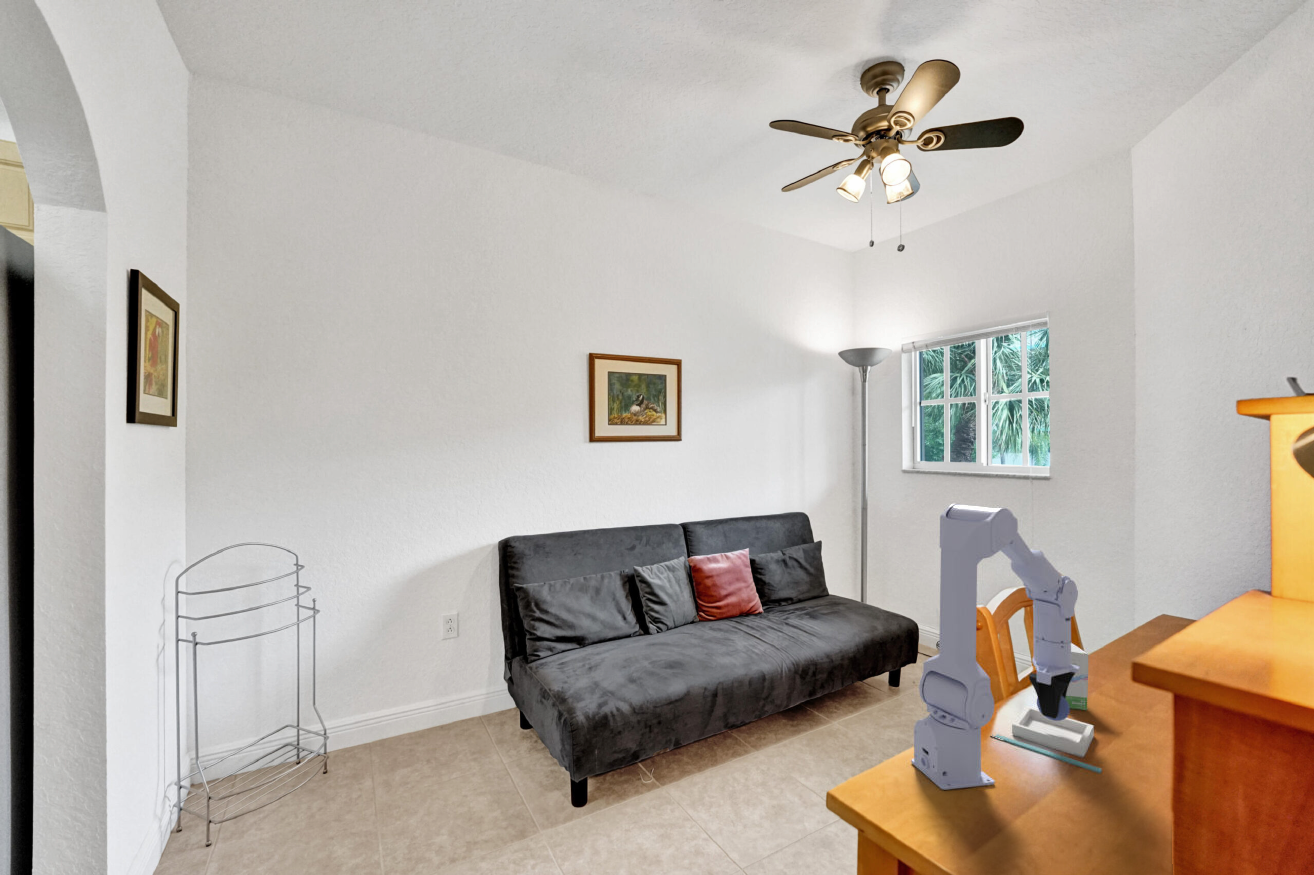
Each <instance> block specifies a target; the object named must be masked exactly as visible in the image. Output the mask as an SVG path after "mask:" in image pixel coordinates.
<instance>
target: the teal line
mask: <svg viewBox="0 0 1314 875" xmlns="http://www.w3.org/2000/svg"><path fill="white" fill-rule="evenodd" d="M992 736H993V735H992ZM994 737H997V738H1000V739H1003V740H1004V741H1003V742H1005V741H1007V742H1006V743H1008V742H1010V743H1009V744H1011V743H1012V744H1011V745H1014V746H1017V747H1020V748H1022V749H1023V748H1024V749H1025V750H1026V749H1027V750H1029V751H1033V752H1034V753H1038V754H1041V755H1044V756H1047V757H1050V758H1052V759H1053V758H1054V759H1056V760H1059V761H1062V762H1066V763H1068V764H1071V765H1073V766H1074V765H1075V766H1078V767H1080V768H1083V769H1085V770H1088V771H1091V772H1095V773H1098V774H1102V768H1101V767H1097V766H1095V765H1092V764H1089V763H1085V762H1082V761H1079V760H1076V759H1073V758H1070V757H1068V756H1064V755H1061V754H1058V753H1054V752H1053V751H1049V750H1045V749H1043V748H1040V747H1037V746H1034V745H1031V744H1027V743H1025V742H1022V741H1019V740H1016V739H1014V738H1013V739H1012V738H1010V737H1006V736H1003V735H1000V734H998V735H996V736H994Z"/></svg>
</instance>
